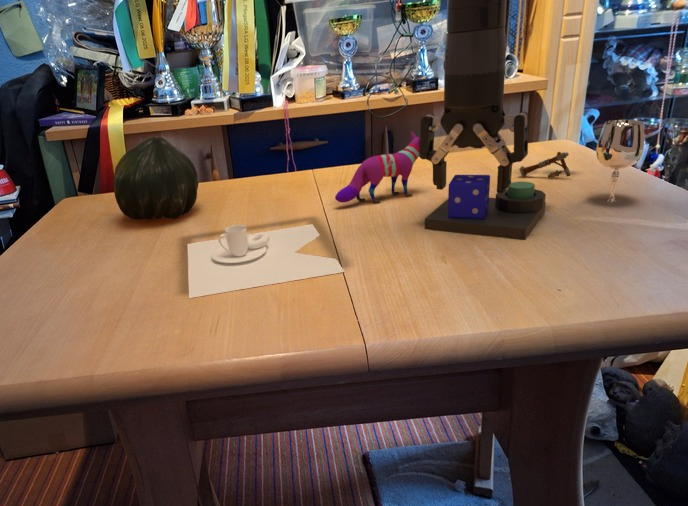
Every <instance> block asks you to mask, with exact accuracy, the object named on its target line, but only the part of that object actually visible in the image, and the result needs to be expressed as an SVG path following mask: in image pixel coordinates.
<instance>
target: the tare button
mask: <svg viewBox="0 0 688 506" xmlns="http://www.w3.org/2000/svg"><path fill="white" fill-rule="evenodd" d="M535 187H536V184H535V183H533V182H532V181H531V182H530V181H521V180H520V181H513V182H512V181H511V184H510V186H509V187H508V188H507V189H508V191H507V197H510V198H518V199H525V198H531V197H534V189H536V188H535Z"/></svg>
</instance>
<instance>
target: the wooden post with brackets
mask: <svg viewBox="0 0 688 506" xmlns="http://www.w3.org/2000/svg"><path fill="white" fill-rule="evenodd" d="M569 155H570V154H569V152H568V151H567V152H564V151H563V152H561V151H558V152H557V153H556V155H555V156H553V157H551V158H547V159H544V160H542V161H540V162H538V163H536V164H533V165H530V166H529V165H528V166H524V165H521V166H520V167H519V168H518V170H519V172H520V175H521V177H522V179H524V178H525V177H526V176H527V175H528V174H530V173H533V172H534V171H536V170H538V169H542V168H546V167H547V166H551V164H555V165H558V166H560V167H561V168H562V169H563V170H558V169H556V170H555V171H551V172H550V173H549V174H548V175H547V178H549V179H551V180H552V179H554V178H556V177H557V178H559V176H560V175H562V174H563V173H564V174H565V175H566V177H571V172H570V168H569V166H567V163H566V161H565V159H566V158H567V157H569Z"/></svg>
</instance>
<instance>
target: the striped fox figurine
mask: <svg viewBox="0 0 688 506" xmlns="http://www.w3.org/2000/svg"><path fill="white" fill-rule="evenodd" d="M410 136H411V137H410V138H411V141H410V142H409V144H408V145H407V146H406V147H405V148H404V149H401V150H399V151H397V152H396V153H394V152H393V153H387V154H379V155H373V156H370V157H368V158H366V159H365V160H363V161H362V162H361V164H360V165H359V166H358V167H357V168H356V170H355V172H354V174H353V176H352V178H351V180H350V182H349V184H348V185H346V186H345V187H343V188H341V189H340V190H339V191H337V193H336V194H335V196H334V199H335V201H337V202H339V203H343V204H344V203H348V202H351V201H353V200H354V199H355V198H356V200H357V201H358V202H360V203H361V202H362V203H364V202H367V199H366V198H365V197H363V198H361V196H360V194H361V191H362V189H363V187H365V186H366V185H367V184H370V185H369V188H368V193H369V196H370V199H371V201H372V203H373V204H380V203H381V200H380V199H376V196H375V190H376V189H377V187H378V186H379V185H380V183H381V182H382V180H383V178H390V180H391V194H392V195H394V196H397V195H399V194H400V192H399V191H397V190H396V191H395V187H396V183H397V180H398V177H399V176H401V179H400V180H401V184H402V188H403V193H404V196H405V197H406V198H412V197H413V193H408V181H409V177H410V175H411V172H412V171H413V167H414V165H415V163H416V161H417V160H418V159H419V158H420V157H419V150H420V136H419V137H418V136H417V135H416V134H415V133H414V131H411V132H410Z"/></svg>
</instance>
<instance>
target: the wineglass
mask: <svg viewBox="0 0 688 506" xmlns="http://www.w3.org/2000/svg"><path fill="white" fill-rule="evenodd" d="M645 138H646V137H645V125H644V121H642V120H637V119H636V120H635V119H615V120H614V119H613V120H608V121H605V122H604V124H603V126H602V129H601V131H600V134H599V137H598V140H597V144H596V149H595V150H596V151H595V152H596V160H597V161H598V163H600V165H602V166H603V167H606V168H608V169H612V170H613V171H612V173H611V175H610V180H611V189H610V195H609V197H608V199H607V200H606V202H608V203H615V202H616V199H615V191H616V186H617V183H618V181H619V179H620V171H619V170H623V169H627V168H629V167H632V166H633V165H635V164H637V163H638V161H640V159H641V157H642V155H643V154H644V153H643V152H644V149H645V140H646V139H645Z"/></svg>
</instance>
